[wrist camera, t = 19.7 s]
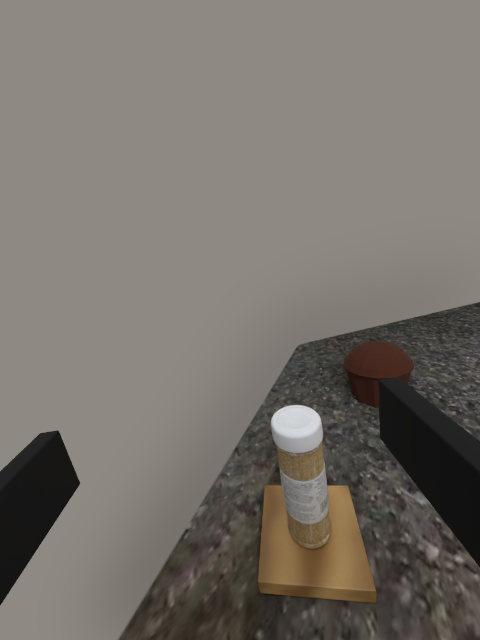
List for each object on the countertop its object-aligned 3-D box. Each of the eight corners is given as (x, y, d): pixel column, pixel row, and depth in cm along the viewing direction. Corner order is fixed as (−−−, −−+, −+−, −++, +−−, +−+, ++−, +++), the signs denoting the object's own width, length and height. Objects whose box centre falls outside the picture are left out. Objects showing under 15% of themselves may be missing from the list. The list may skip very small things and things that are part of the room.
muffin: (364, 373, 57) (361, 330, 55) (423, 389, 49) (423, 338, 46) (334, 398, 50) (329, 351, 48) (396, 422, 42) (395, 365, 39)
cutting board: (259, 593, 24) (257, 582, 24) (266, 494, 34) (264, 485, 33) (376, 603, 22) (376, 591, 22) (348, 495, 32) (347, 485, 31)
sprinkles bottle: (303, 498, 31) (290, 398, 27) (340, 524, 27) (330, 413, 24) (278, 529, 28) (260, 421, 24) (316, 563, 24) (301, 443, 21)
